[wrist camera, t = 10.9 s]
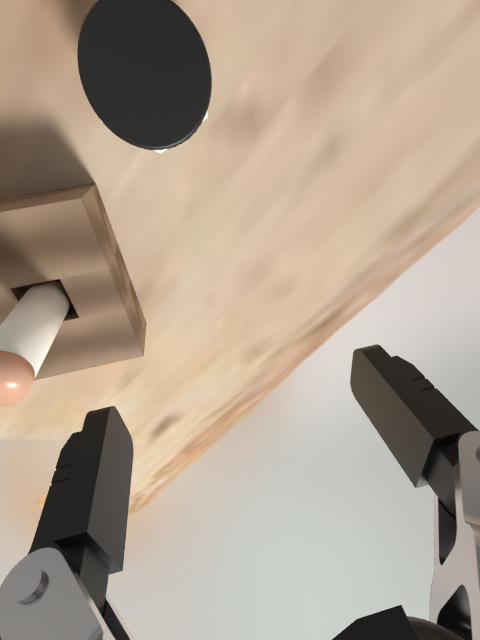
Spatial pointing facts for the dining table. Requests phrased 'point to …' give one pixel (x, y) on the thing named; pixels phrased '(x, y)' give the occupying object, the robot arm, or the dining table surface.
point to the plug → (29, 337)
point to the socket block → (71, 276)
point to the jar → (145, 71)
